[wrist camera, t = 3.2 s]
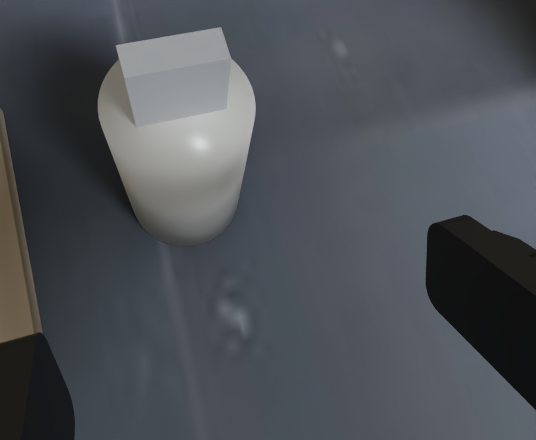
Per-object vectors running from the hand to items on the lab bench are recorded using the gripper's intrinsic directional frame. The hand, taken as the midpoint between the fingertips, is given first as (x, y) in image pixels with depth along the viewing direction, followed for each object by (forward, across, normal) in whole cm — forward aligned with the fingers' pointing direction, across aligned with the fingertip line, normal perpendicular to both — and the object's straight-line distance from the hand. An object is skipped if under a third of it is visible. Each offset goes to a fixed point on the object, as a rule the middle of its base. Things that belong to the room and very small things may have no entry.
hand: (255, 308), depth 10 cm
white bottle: (+13, 0, +3) cm, 14 cm away
